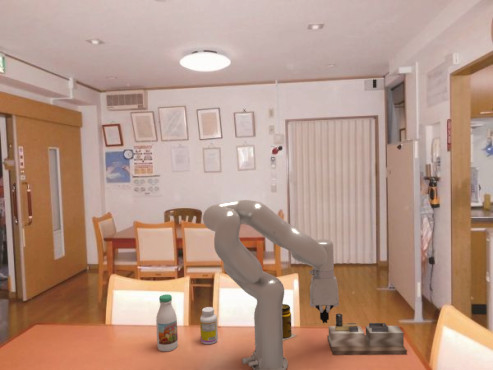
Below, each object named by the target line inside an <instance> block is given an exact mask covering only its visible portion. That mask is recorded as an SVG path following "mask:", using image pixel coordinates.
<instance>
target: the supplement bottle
mask: <svg viewBox="0 0 493 370" xmlns="http://www.w3.org/2000/svg"><path fill="white" fill-rule="evenodd" d="M201 312H202V313H201V316H200V318H199V325H200V342H201V343H202V344H204V345H213V344H216V343H217V342H218V339H219V335H218V334H219V333H218V317H217V315H216V313H215V308H214V307H212V306H207V307H203V308H202V310H201Z"/></svg>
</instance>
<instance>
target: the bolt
mask: <svg viewBox="0 0 493 370" xmlns="http://www.w3.org/2000/svg"><path fill="white" fill-rule="evenodd" d="M334 326H335V330H350V327H358V326H359V325H357V323H356V324H348V323H346V324H345V323H343V314H342V313H336V314H335V324H334Z"/></svg>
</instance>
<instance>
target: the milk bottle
mask: <svg viewBox="0 0 493 370" xmlns="http://www.w3.org/2000/svg"><path fill="white" fill-rule="evenodd" d="M172 299H173V297H172V295H171V294H166V293H165V294H162V295H160V296H159V309H158V311H157V313H156V314H157V315H156V318H155V319H156V320H155V322H156V324H155V325H156V344H157V349H158V351H160V352H171V351H173V350H175V349H177V348H178V345H179V340H178V339H179V338H178V321H177V314H176V311H175V309H174V308H173V307H174V306H173V304H172V301H173V300H172Z"/></svg>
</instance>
